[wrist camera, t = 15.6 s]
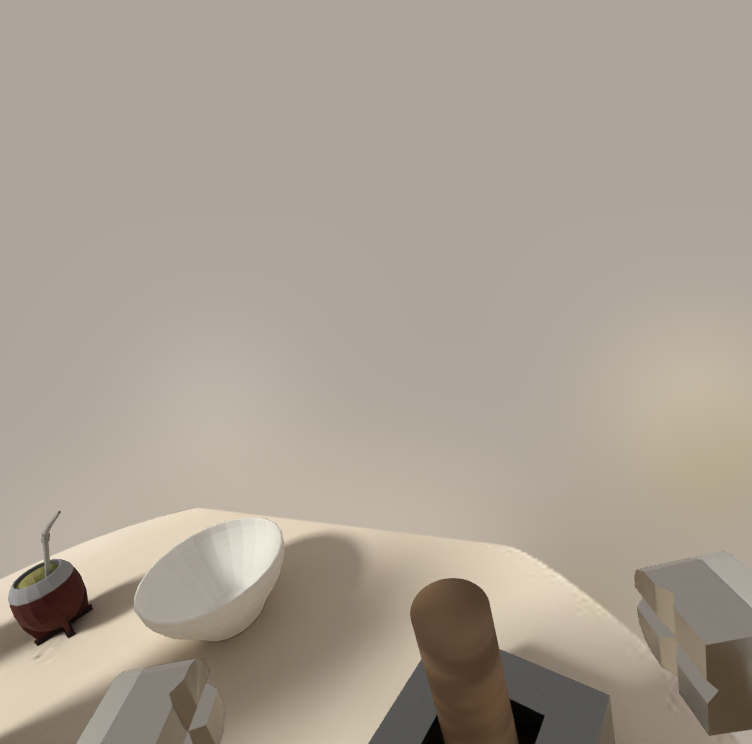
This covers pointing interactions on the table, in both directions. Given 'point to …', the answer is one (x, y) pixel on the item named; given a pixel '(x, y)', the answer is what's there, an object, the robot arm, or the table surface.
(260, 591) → the bowl
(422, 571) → the table surface
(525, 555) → the table surface
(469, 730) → the walnut pin
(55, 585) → the mate gourd
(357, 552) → the table surface
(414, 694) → the socket block
